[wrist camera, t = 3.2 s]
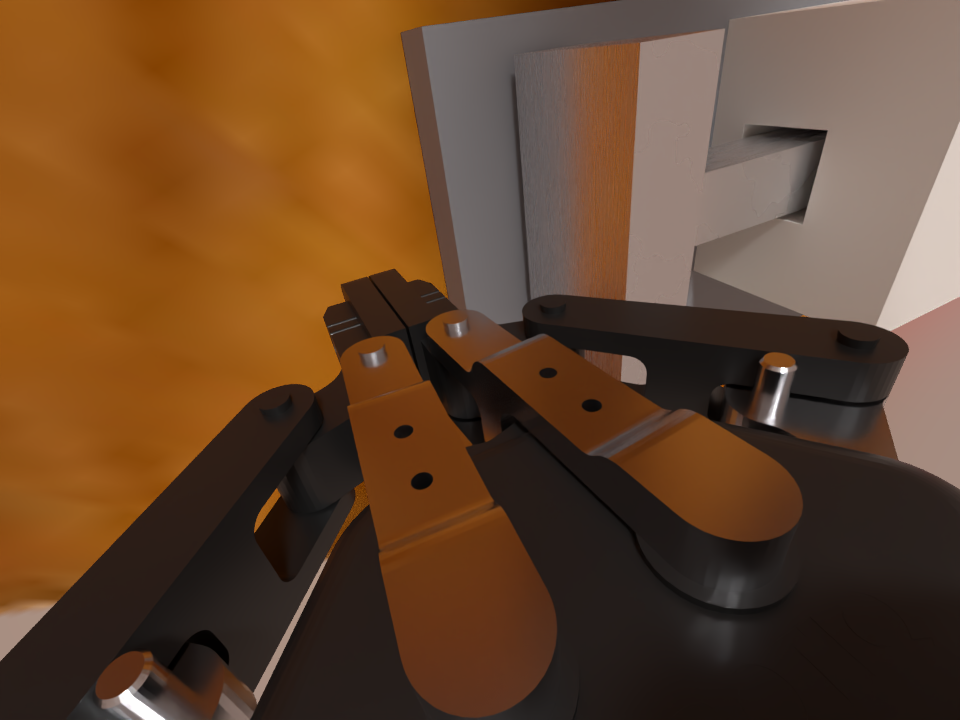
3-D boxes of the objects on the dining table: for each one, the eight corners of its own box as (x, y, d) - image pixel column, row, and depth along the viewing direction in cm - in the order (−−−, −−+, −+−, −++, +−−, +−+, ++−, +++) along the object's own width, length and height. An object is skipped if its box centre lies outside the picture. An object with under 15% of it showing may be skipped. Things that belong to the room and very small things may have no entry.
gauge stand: (400, 32, 15) (599, -24, 7) (873, -31, 21) (1242, -96, 14) (472, 429, 24) (589, 594, 16) (783, 298, 31) (971, 371, 23)
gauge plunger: (513, 54, 14) (640, 42, 10) (780, 12, 17) (961, -12, 13) (539, 431, 23) (613, 512, 18) (714, 354, 26) (810, 408, 22)
